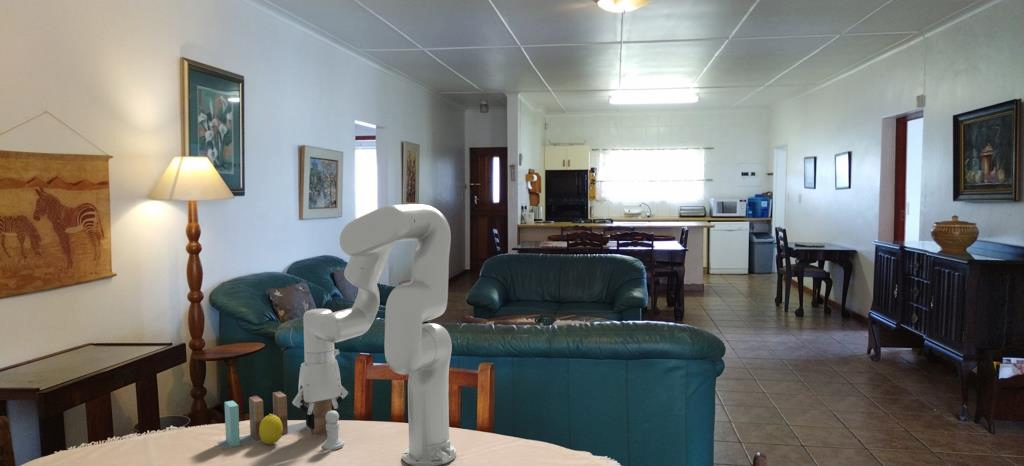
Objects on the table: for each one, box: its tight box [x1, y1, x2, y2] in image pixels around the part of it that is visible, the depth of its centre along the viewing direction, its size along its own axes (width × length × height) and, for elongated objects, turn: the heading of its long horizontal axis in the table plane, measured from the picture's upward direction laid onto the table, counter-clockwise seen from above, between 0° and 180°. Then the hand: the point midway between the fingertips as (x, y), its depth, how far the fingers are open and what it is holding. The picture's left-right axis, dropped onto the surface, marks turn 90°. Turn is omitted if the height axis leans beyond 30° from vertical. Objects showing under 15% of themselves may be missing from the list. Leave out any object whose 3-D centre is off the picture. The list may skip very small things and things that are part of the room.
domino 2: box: [272, 390, 289, 436], centre depth 169 cm, size 5×2×10 cm, turn 38°
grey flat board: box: [216, 421, 311, 450], centre depth 168 cm, size 6×28×1 cm, turn 128°
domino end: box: [224, 400, 241, 448], centre depth 161 cm, size 5×2×10 cm, turn 38°
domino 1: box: [248, 395, 265, 442], centre depth 165 cm, size 5×2×10 cm, turn 38°
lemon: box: [259, 413, 283, 446], centre depth 160 cm, size 6×6×8 cm
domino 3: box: [310, 399, 332, 437], centre depth 167 cm, size 5×2×10 cm, turn 128°
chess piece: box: [322, 410, 345, 451], centre depth 159 cm, size 5×5×9 cm
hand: (321, 424), depth 168 cm, fingers closed on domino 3, 4 cm apart
